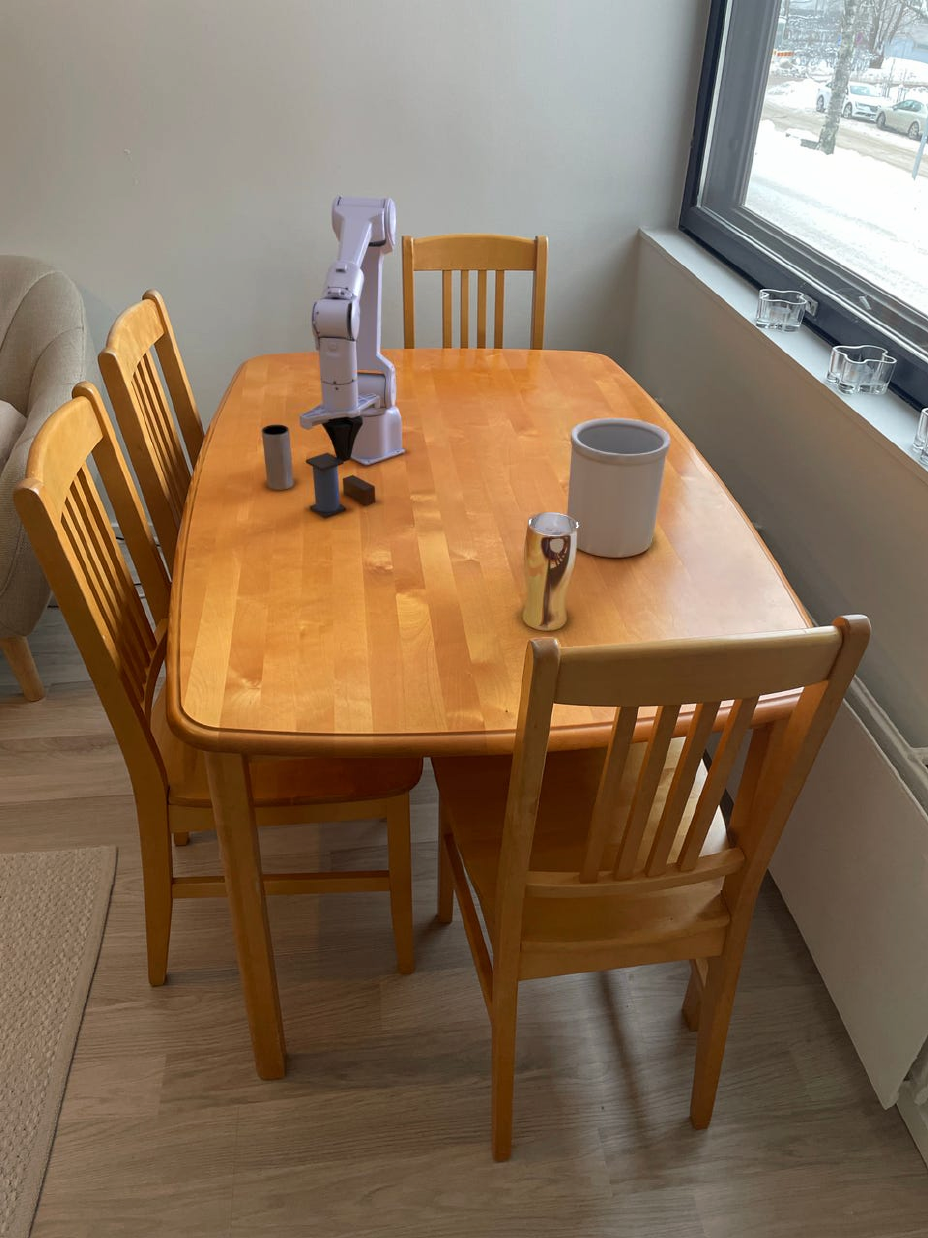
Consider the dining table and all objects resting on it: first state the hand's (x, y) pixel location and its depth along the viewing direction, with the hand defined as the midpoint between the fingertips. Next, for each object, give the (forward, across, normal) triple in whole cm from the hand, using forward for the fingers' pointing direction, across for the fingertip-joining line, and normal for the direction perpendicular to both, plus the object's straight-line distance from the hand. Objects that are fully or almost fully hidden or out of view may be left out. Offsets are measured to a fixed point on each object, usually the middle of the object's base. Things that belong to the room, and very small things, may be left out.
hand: (343, 458), depth 150 cm
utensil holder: (+8, +24, -37) cm, 45 cm away
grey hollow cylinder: (+8, -4, +13) cm, 16 cm away
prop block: (+8, +3, 0) cm, 9 cm away
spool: (+4, -4, 0) cm, 5 cm away
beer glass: (+8, -1, -46) cm, 47 cm away
